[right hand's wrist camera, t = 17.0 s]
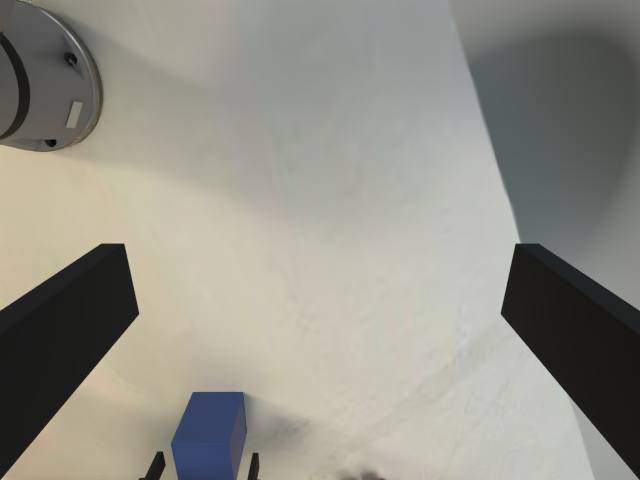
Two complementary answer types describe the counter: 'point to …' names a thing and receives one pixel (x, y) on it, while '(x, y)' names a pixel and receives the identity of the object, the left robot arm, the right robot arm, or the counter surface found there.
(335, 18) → the counter surface
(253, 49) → the counter surface
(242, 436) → the block
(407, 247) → the counter surface
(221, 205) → the counter surface
